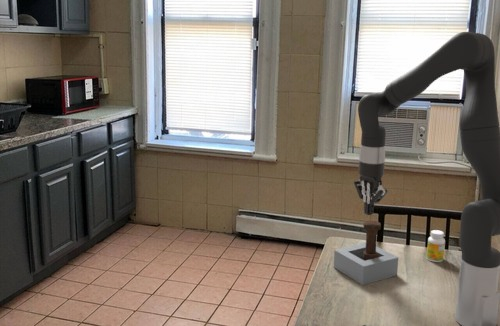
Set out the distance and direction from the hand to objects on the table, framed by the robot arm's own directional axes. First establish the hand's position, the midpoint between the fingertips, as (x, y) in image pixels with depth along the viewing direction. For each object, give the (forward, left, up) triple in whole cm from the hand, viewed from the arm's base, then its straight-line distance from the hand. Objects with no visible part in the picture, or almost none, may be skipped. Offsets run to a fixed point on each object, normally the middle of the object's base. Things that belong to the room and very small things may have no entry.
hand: (368, 214), depth 163 cm
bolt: (-2, 0, -18) cm, 18 cm away
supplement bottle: (-4, -27, -19) cm, 33 cm away
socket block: (0, 0, -19) cm, 19 cm away
